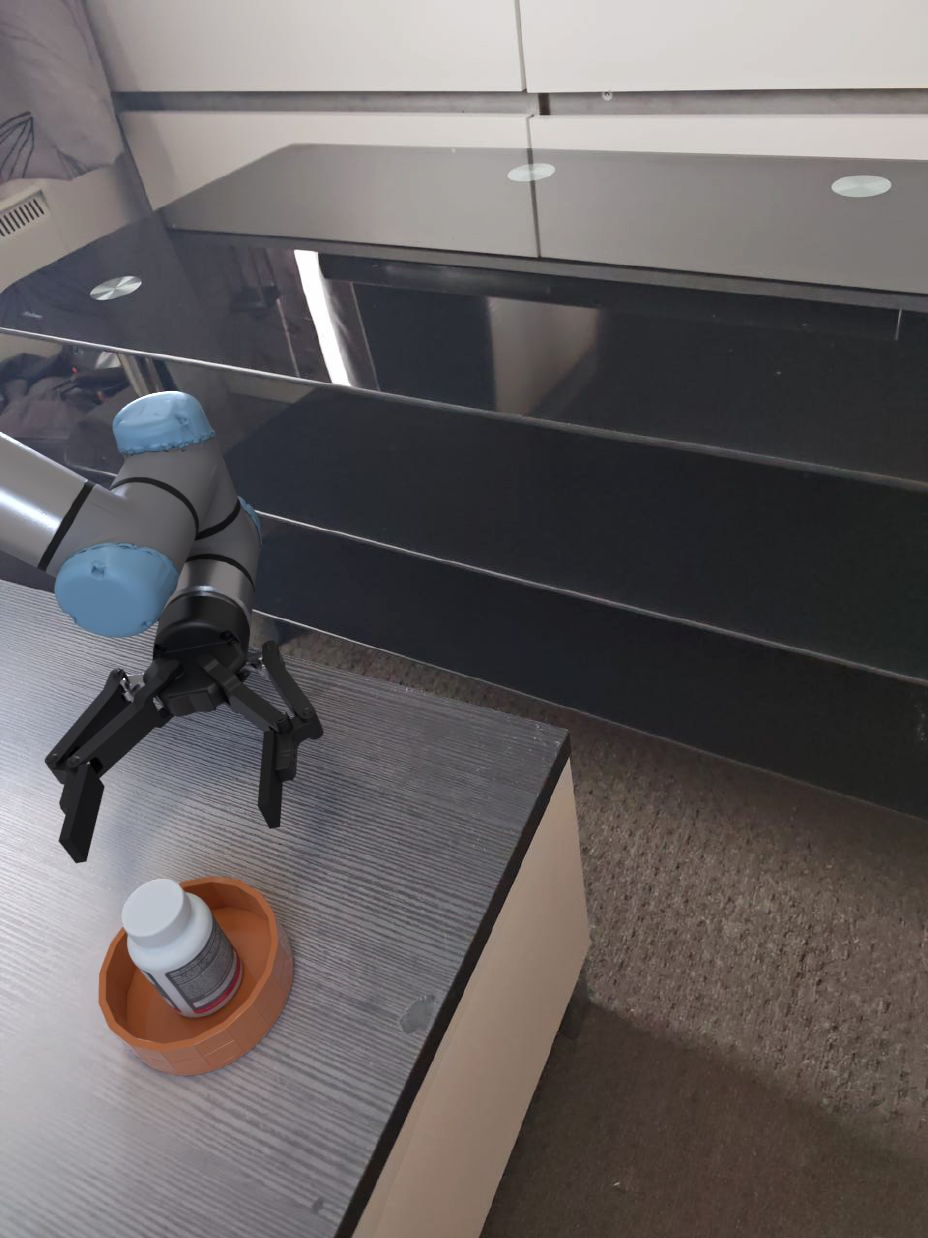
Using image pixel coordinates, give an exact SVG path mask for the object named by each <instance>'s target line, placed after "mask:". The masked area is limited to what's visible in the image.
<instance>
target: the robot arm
mask: <svg viewBox="0 0 928 1238" xmlns="http://www.w3.org/2000/svg"><path fill="white" fill-rule="evenodd" d="M205 413H206V412H205V411H204V409H203V407H202V405H201V403H200V402H199V400H198V399H197V398H196V397H194V396H193V395H191V394H189V393H187V392H183V391H175V390H174V391H173V390H172V391H171V390H170V391H162V392H155V393H151V394H147V395H145V396H142V397H140V398H139V397H138V398H137V399H136V400H133V401H131V402H130V403H127V405H125V406H124V407H123V408H121V409H120V410H119V411H118V413H116V415H115V417H114V418H113V421H112V433H113V435H114V440H115V443H116V445H117V447H116V449H117V451H118V453H120V454H121V455H122V458H123V460H124V461H123V465H122V467H121V468H120V470H119V472H118V473H117V475H116V476H115V478H114V480H113V482H112V483H111V485H110V487H109V489H107V488H106V487H104V486H102V485H100V484H98V483H95V482H93V481H91V480H90V479H87V478H86V477H84V476H82V475H80V474H79V473H77V472H75V471H73V470H71V469H70V468H68V467H66V466H64V465H62V464H60V463H58V462H56V461H54V459H51V458H50V457H48V456H45V455H44V454H42V453H40V452H38V451H36V450H35V449H33V448H31V447H30V446H27V445H26V444H23V443H21V442H20V441H18V440H16V439H14V438H13V437H11V436H9V435H8V434H5V433H3V432H1V431H0V551H2V552H4V553H6V554H8V555H10V556H12V557H14V558H16V559H18V560H21V562H24V563H26V564H28V565H31V566H32V567H34V568H36V569H37V570H39V571H42V572H44V573H45V574H47V575H49V576H51V577H53V578H55V583H54V589H53V590H54V591H53V592H54V597H55V599H56V602H57V605H58V607H59V609H60V610H61V611H62V613H64V614H66V615H68V616H69V617H71V619H72V620H73V623H74V624H75V625H77V626H78V627H79V628H81V629H83V630H85V631H86V632H89V633H91V634H93V635H97V636H102V637H105V638H110V639H111V638H114V639H124V638H131V637H135V636H138V635H140V634H143V633H144V632H146V631H148V630H149V629H151V627H152V626H153V625H154V624H156V623H157V622H158V623H157V626H156V627H157V628H156V631H155V635H154V640H153V645H152V661H151V663H150V665H149V666H148V667H147V669H146V670H145V671H144V672H143V673H135V674H127V673H126V671H125V670H124V668H122V667H117V668H114V669H112V671H110V673H109V674H108V676H107V680H106V682H105V684H104V687H103V689H102V690H101V691H100V692H99V694H98V695H97V696H96V697H95V698H94V700H93V701H92V702H91V703H90V704H89V705H88V706H87V708H86V709H85V710H84V711H83V713H82V714H81V715H80V716H79V718H77V720H75V722H74V723H73V724H72V726H70V728H69V729H68V730H67V732H66V733H64V735H63V736H62V737H61V738H60V740H59V741H58V742H57V743H56V744H55V746H54V747H53V748H52V749H51V750H50V751H49V753H48V754H47V755H46V756H45V758H44V763H45V765H46V766H47V768H48V769H49V770H50V772H51V773H52V774H53V776H54V777H55V778H56V780H57V782H58V783H59V784H60V785H63V788H62V791H61V795H60V798H59V801H58V805H59V809H60V810H61V812H62V813H63V814H64V819H63V823H62V826H61V829H60V834H59V837H58V841H57V842H58V843H59V844H60V845H61V846H62V848H63V849H64V850H65V851H66V854H68V855H69V856H70V858H71V859H72V861H73V862H74V863H75V864H81V863H86V862H88V857H89V853H90V848H91V845H92V841H93V836H94V833H95V829H96V824H97V820H98V816H99V812H100V807H101V804H102V800H103V795H104V792H105V787H106V786H105V785H104V783H103V782H102V780H101V778H102V777H103V776H104V775H105V774H106V773H107V772H108V771H110V770H111V769H112V768H113V767H114V766H115V765H116V764H117V763H118V762H119V761H120V760H121V759H123V758H124V757H125V756H126V755H127V754H129V752H130V751H131V750H132V749H134V748H135V747H136V746H137V745H138V744H139V743H140V742H141V741H142V740H144V738H146V737H147V736H148V735H149V734H150V733H151V732H152V731H153V730H154V729H156V728H157V729H161V728H163V727H164V726H165V725H166V724H168V723H169V722H170V721H171V720H172V719H173V718H174V717H175V716H176V717H177V718H180V717H185V716H190V715H192V714H194V713H197V712H198V713H200V712H201V713H203V712H204V713H206V712H207V713H208V712H213V711H217V708H218V707H220V706H222V705H225V706H226V707H228V708H229V709H230V710H231V711H233V712H234V713H235V714H236V715H241V716H242V717H244V718H245V719H246V720H247V721H249V722H250V723H251V724H253V725H254V726H255V727H256V728H257V729H259V730H260V731H261V732H263V737H262V748H261V757H260V759H261V760H260V771H259V782H258V783H259V784H258V793H257V807H258V809H259V811H260V813H261V815H262V817H263V819H264V821H265V823H266V825H267V827H268V829H269V830H271V829H277V828H281V821H282V806H283V805H282V804H283V789H284V782H290V781H294V780H295V778H296V775H297V771H298V770H297V768H298V764H297V763H298V748H299V746H300V745H301V743H302V742H304V741H306V740H308V739H309V740H312V741H313V740H314V741H315V740H318V739H321V738H322V737H323V735H324V733H325V732H324V729H323V726H322V723H321V720H320V717H319V715H318V713H317V711H316V707H314V705H313V704H312V703H311V701H310V700H309V698H308V697H307V696H306V694H305V692H304V691H303V690H302V688H301V687H300V686H299V684H298V683H297V682H296V680H295V679H294V677H292V674H290V672H289V671H288V670H287V668H286V664H285V661H284V658H283V655H282V653H281V650H280V648H279V645H278V643H277V641H275V640H267V641H265V642H263V644H262V646H261V650H260V651H257V652H254V653H249V648H250V638H251V627H252V621H253V620H252V619H253V609H254V601H255V592H256V591H255V587H256V582H257V581H256V580H257V574H258V567H259V560H260V556H261V553H262V549H261V548H262V545H263V541H262V540H263V539H262V535H261V534H262V533H261V521H260V518H259V516H258V514H257V512H256V510H255V509H254V507H252V506H251V504H250V503H248V502H247V501H246V500H245V499H244V498H243V497H241V496H239V495H238V494H237V491H236V489H235V487H234V484H233V481H232V478H231V476H230V473H229V470H228V468H227V465H226V462H225V459H224V456H223V454H222V452H221V448H220V446H219V442H218V441H217V438H216V435H217V434H216V431H215V429H213V428H212V426H211V423H210V422H209V420H208V417H207V416H206V414H205ZM252 672H257V673H258V675H259V676H260V677H263V678H264V679H265V680H266V681H269V680H270V681H271V684H272V686H273V688H274V689H275V691H276V692H277V695H279V697H280V698H281V700H282V701H283V703H284V704H285V706H286V707H287V709H288V710H289V712H290V713H291V714H292V716H293V717H290V715H289V712H288V711H284V712H285V714H284V712H282V711H281V710H279V709H278V708H277V707H275V706H274V705H273V704H271V703H270V702H269V701H267V700H266V699H264V698H263V697H262V696H261V695H259V694H258V693H257V692H256V691H254V690H252V689H251V688H250V687H248V686H247V685H246V684H244V682H246V680H247V679H248V678H249V677H250V676H251V673H252ZM154 700H155V701H157V702H158V704H159V705H160V706H161V707H160V708H159V709H158V708H157V705H156V704H155V702H154Z"/></svg>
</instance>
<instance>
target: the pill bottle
mask: <svg viewBox="0 0 928 1238" xmlns="http://www.w3.org/2000/svg"><path fill="white" fill-rule="evenodd" d="M179 884H180V883H178V882H176V880H173V879H169V878H156V879H155V878H154V879H152V880H149V881H146V882H145V883H143V884H142V885H140V886H139V887H137V888H136V889H134V891H132V893H131V894H130V895H129V896H128V898H126V900H125V902H124V905H123V906H122V909H121V914H120V922H121V925H122V927H123V928H124V929H125V931H126V932H127V934H128V938H127V947H128V952H129V955H130V957H131V959H132V960H133V962H134V963H135V965H136V966H137V967H138V968H139V969H140V971H141V972H142V973H143V974H144V975H145V977H146V978H147V979H148V980H149V982H150V983H151V984H152V985H153V986H154V988H155V989H156V990H157V991H158V992H159V994H160V995H161V996H162V997H163V999H164V1000H165V1001H166V1002H167V1003H168V1004H169V1005H170V1007H171V1008H172V1009H173V1010H174V1011H175V1012H177V1013H178V1014H180V1015H182V1016H185V1017H190V1018H196V1017H203V1016H207V1015H210V1014H212V1013H214V1012H215V1011H217V1010H219V1009H220V1008H222V1007H223V1006H224V1005H226V1004H227V1003H228V1002H229V1001H230V1000H231V998H232V997H233V996H234V994H235V993H236V991H237V989H238V988H239V985H240V982H241V979H242V973H243V967H242V961H241V958H240V956H239V954H238V952H237V951H236V949H235V947H234V946H233V945H232V943H231V942H230V940H229V939H228V937H227V936H226V934H225V932H224V931H223V929H222V928H221V926H220V924H219V923H218V922H217V920H216V919H215V917H214V915H213V914H212V912H211V910H210V909H209V907H208V906H207V905H206V903H205V902H204V901H203V900H202V899H201V898H199V897H198V896H196V895H194V894H191V893H188V892H185V891H184V890H183V889H182V888H181V886H180V885H179Z"/></svg>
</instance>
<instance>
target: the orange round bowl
mask: <svg viewBox="0 0 928 1238" xmlns="http://www.w3.org/2000/svg"><path fill="white" fill-rule="evenodd" d="M178 884H179V885H180V886H181V888H182V889H183V890H184V891H185V892H188V893H191V894H194V895H196V896H198V897H199V898H201V899H202V900H203V901H204V902H205V903H206V905H207V906H208V907H209V909H210V910H211V912H212V914H213V915H214V917H215V919H216V920H217V922H218V923H219V924H220V926H221V928H222V929H223V931H224V932H225V934H226V936H227V937H228V939H229V940H230V942H231V943H232V945H233V946H234V947H235V949H236V951H237V952H238V954H239V956H240V958H241V961H242V967H243V973H242V979H241V982H240V985H239V988H238V989H237V991H236V993H235V994H234V996H233V997H232V998H231V1000H230V1001H229V1002H228V1003H227V1004H226V1005H224V1006H223V1007H222V1008H220V1009H219V1010H217V1011H215V1012H214V1013H212V1014H210V1015H207V1016H203V1017H196V1018H190V1017H185V1016H182V1015H180V1014H178V1013H177V1012H175V1011H174V1010H173V1009H172V1008H171V1007H170V1005H169V1004H168V1003H167V1002H166V1001H165V1000H164V999H163V997H162V996H161V995H160V994H159V992H158V991H157V990H156V989H155V988H154V986H153V985H152V984H151V983H150V982H149V980H148V979H147V978H146V977H145V975H144V974H143V973H142V972H141V971H140V969H139V968H138V967H137V966H136V965H135V963H134V962H133V960H132V959H131V957H130V955H129V952H128V947H127V938H128V934H127V932H126V931H125V929H124V928H123V926H122V927H121V928H120V930H119V931H117V933H116V935H115V936H114V937H113V939H112V940H111V941H110V944H109V946H108V948H107V951H106V954H105V956H104V959H103V962H102V965H101V967H100V969H99V973H98V1002H97V1003H98V1006H99V1008H100V1010H101V1013H102V1015H103V1017H104V1020H105V1022H106V1024H107V1027H108V1029H109V1030H110V1031H111V1033H113V1034H114V1036H116V1037H117V1039H118V1040H119V1041H120V1042H121V1043H122V1044H123V1045H124V1046H125V1047H126V1048H127V1049H128V1050H129V1051H130V1052H131V1053H132V1054H134V1055H135V1056H136V1057H137V1058H138V1059H139V1060H140V1061H142V1062H143V1063H144V1064H145V1065H147V1066H148V1067H150V1068H152V1069H153V1070H155V1071H158V1072H160V1073H163V1074H168V1075H172V1076H184V1077H186V1076H187V1077H188V1076H197V1075H202V1074H206V1073H211V1072H214V1071H216V1070H218V1069H219V1070H220V1069H222V1068H224V1067H226V1066H228V1065H230V1064H232V1063H234V1062H235V1061H237V1060H239V1059H240V1058H241V1057H243V1056H244V1055H246V1054H248V1052H250V1051H251V1050H252V1049H254V1047H256V1046H257V1045H258V1044H259V1043H260V1042H261V1041H262V1040H263V1039H264V1038H265V1037H266V1036H267V1034H268V1033H269V1032H270V1030H271V1029H273V1027H274V1025H275V1024H276V1022H277V1021H278V1019H279V1018H280V1016H281V1014H282V1012H283V1010H284V1009H285V1006H286V1004H287V1002H288V1000H289V995H290V993H291V989H292V985H293V981H294V971H295V965H294V954H293V949H292V945H291V943H290V939H289V936H288V935H287V932H286V931H285V929H284V927H283V926H282V924H281V922H280V920H279V919H278V917H277V915H276V912H274V910H273V909H272V906H271V905H270V904H269V902H268V901H267V899H266V898H265V896H264V895H263V893H262V892H261V891H259V890H258V889H256V888H254V887H253V886H251V885H249V884H248V883H246V882H244V881H242V880H241V879H236V878H229V877H223V876H216V875H212V876H205V877H200V878H194V879H188V880H185V881H181V882H179V883H178Z"/></svg>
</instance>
